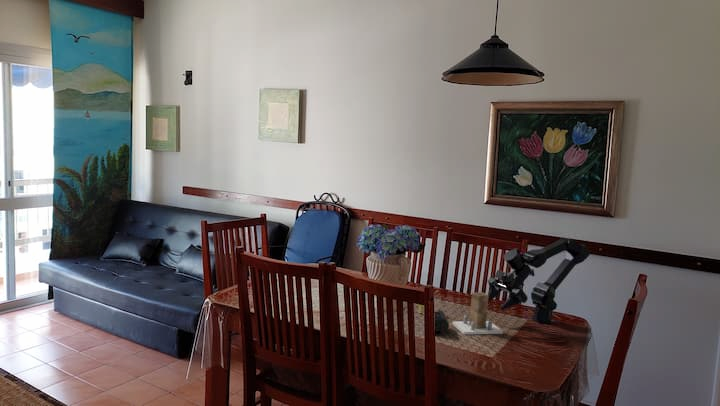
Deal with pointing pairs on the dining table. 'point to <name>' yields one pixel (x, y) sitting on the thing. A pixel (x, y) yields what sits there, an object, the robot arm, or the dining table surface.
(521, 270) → the robot arm
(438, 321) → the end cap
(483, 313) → the walnut post
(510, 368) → the dining table surface
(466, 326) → the plate
